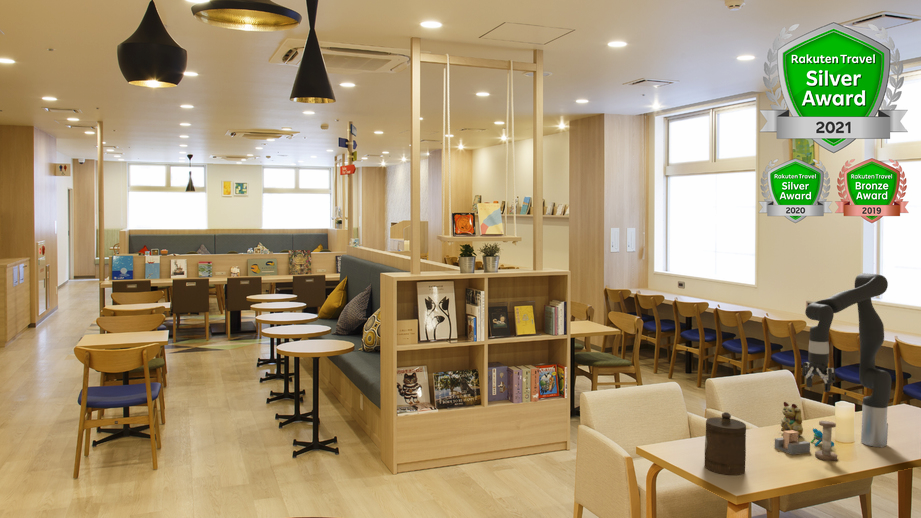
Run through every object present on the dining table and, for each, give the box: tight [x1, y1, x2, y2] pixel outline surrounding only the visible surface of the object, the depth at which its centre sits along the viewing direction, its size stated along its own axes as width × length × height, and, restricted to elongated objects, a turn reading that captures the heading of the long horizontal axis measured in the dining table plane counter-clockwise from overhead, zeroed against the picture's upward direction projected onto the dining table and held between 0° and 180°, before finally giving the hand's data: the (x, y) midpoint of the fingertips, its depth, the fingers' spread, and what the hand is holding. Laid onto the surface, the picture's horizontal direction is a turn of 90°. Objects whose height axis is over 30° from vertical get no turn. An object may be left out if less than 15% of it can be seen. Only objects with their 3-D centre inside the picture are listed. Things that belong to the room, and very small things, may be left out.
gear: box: [810, 428, 835, 447], centre depth 282 cm, size 11×6×10 cm
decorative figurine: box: [780, 401, 804, 438], centre depth 296 cm, size 10×8×15 cm
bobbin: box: [814, 420, 838, 462], centre depth 267 cm, size 8×8×14 cm
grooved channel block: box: [774, 437, 811, 456], centre depth 276 cm, size 10×9×4 cm
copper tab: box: [782, 430, 799, 449], centre depth 275 cm, size 5×3×7 cm, turn 109°
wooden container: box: [704, 411, 747, 476], centre depth 254 cm, size 15×15×22 cm
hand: (818, 389), depth 273 cm, fingers open, 8 cm apart
